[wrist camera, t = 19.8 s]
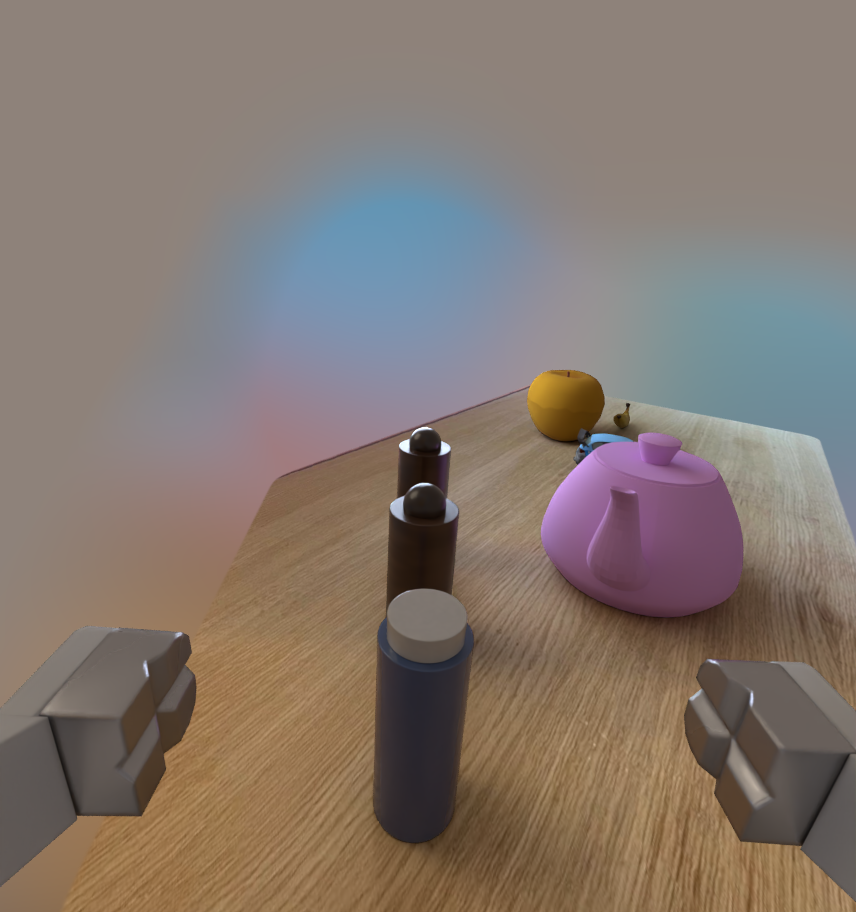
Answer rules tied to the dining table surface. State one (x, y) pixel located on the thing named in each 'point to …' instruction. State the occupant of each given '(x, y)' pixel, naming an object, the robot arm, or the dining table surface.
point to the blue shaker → (420, 712)
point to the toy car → (594, 443)
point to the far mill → (423, 461)
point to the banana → (622, 418)
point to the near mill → (421, 542)
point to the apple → (565, 403)
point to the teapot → (646, 529)
